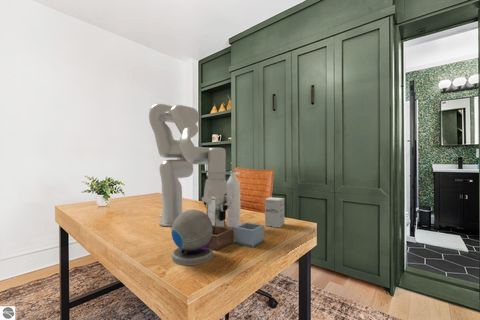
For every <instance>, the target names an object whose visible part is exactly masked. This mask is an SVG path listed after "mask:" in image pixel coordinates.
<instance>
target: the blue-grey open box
mask: <svg viewBox="0 0 480 320" xmlns="http://www.w3.org/2000/svg"><path fill="white" fill-rule="evenodd" d="M263 242H265V224H259V223H258V224H257V223H253V222H252V223H251V222H244V223H241V225H239V226H236V227H235V228H234V244H235V245H240V246H244V247H248V248H251V249H252V248H253V249H254V248H256V247H257V246H258V245H261V243H263Z"/></svg>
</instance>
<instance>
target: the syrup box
mask: <svg viewBox="0 0 480 320" xmlns="http://www.w3.org/2000/svg"><path fill="white" fill-rule="evenodd" d="M211 198H212V201H211V203H207V209H206V215H207V216H208V217H209V218H210V220H211V222H212V226H213V225H215V226H221V227H226V219H225V220H223V221H220V211H221V209H220V206H219V205H217V204H216V197H212V196H211ZM224 201H225V199H224ZM223 203H224V202H223ZM225 204H227V203H225Z"/></svg>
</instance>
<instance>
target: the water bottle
mask: <svg viewBox="0 0 480 320" xmlns="http://www.w3.org/2000/svg"><path fill="white" fill-rule="evenodd" d="M240 174H241V172H240V171H235V172H230V176H229V177H228V179H227V180H226V182H227V188H228V198H229V199H230V201H231V202H232V204H231V205H230V206H229V208H228V209H227V210H226V226H227V228H231V229H235V227H236V226H239V225H241V224H242V222H241V219H242V218H241V217H242V216H241V210H242V208H241V181H240V180H239V179H238V177H237V175H240Z"/></svg>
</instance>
